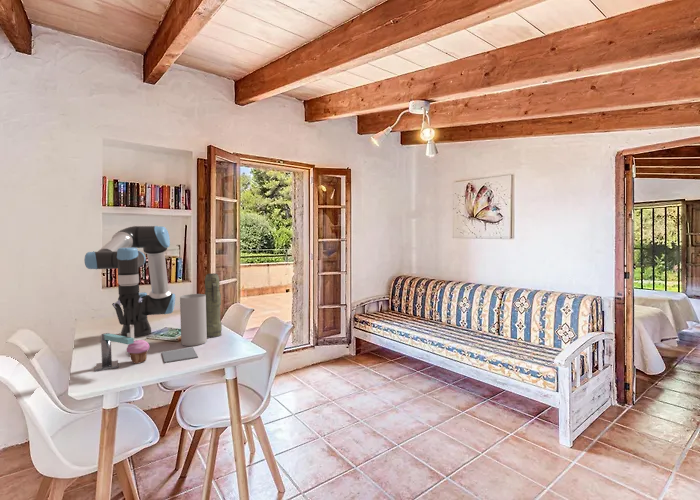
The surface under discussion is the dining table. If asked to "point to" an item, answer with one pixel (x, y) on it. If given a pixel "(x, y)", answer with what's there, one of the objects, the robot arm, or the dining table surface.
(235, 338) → the dining table surface
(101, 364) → the post
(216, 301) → the thermos
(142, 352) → the cupcake
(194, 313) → the cylinder vase
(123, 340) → the bar
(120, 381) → the dining table surface
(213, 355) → the dining table surface
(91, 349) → the dining table surface
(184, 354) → the rubber mat
